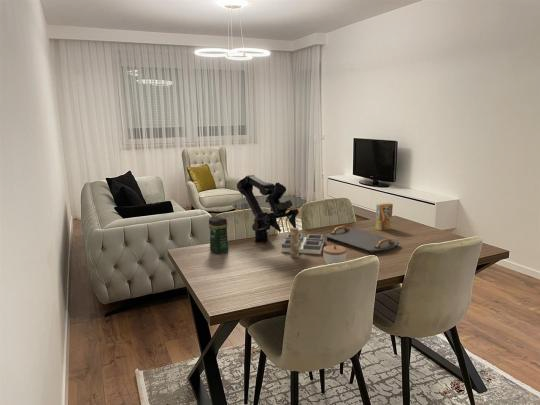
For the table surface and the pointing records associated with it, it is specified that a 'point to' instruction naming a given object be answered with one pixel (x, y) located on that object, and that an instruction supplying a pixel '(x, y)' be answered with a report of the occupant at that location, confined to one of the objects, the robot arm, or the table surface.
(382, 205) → the candy box
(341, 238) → the serving board
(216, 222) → the coffee jar
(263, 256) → the table surface
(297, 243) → the stool leg
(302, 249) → the grey compartment tray
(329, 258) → the lidded jar
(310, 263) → the table surface
